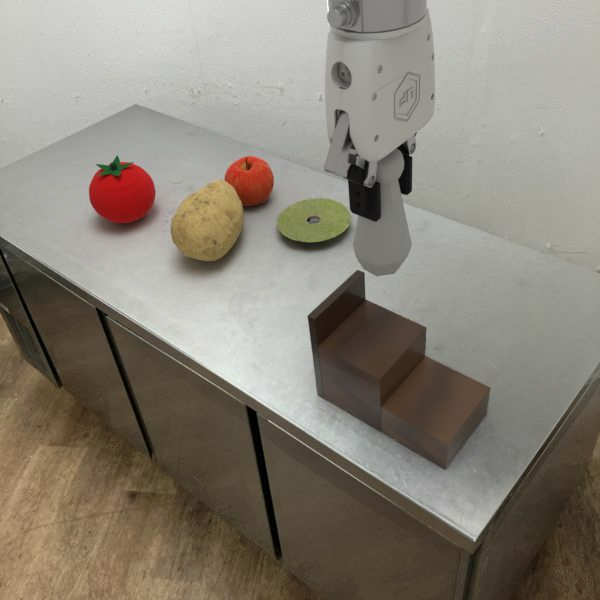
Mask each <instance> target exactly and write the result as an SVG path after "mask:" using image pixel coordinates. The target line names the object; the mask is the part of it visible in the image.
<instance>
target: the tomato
mask: <svg viewBox="0 0 600 600" xmlns="http://www.w3.org/2000/svg"><path fill="white" fill-rule="evenodd" d="M118 155H119V154H116V156H115V158H114V159H113V161H112V162H110V163H109V164H99V163H95V166H97V167H98V168H99V169H98V170H97V171H96V173H94V175H93V176H92V179H91V180H90V183H89V186H88V199H89V202H90V205H91V207H92V209H93V210H94V211H95V212H96V213H97V215H99V216H100V217H101V218H103V219H105V220H106V221H109V222H112V223H116V224H128V223H133V222H136V221H137V220H140V219H141V218H143V217H144V216H145V215H147V214H148V212H149V211H150V210H151V209H152V207H153V205H154V203H155V199H156V186H155V183H154V181H153V178H152V177H151V175H150V174H149V173H148V172H147V171H146V170H145V169H144V168H142V167H141V166H140V165H137V164H135V163H134V161H131V162H129V161H121V160H120V158H119V156H118Z"/></svg>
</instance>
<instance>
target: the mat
mask: <svg viewBox="0 0 600 600" xmlns="http://www.w3.org/2000/svg"><path fill="white" fill-rule="evenodd" d="M351 221H352V215H351V211H350V209H348V207H346V205H344V204H343V203H341V202H339V201H337V200H334V199H331V198H322V197H313V198H307V199H302V200H299V201H296V202H293V203H292V204H290V205H288V206H287V207H285V208H284V209H283V210H282V211H281V212H280V213H279V215H278V218H277V220H276V225H277V229H278V231H279V232H280V233H281V234H282V235H283V236H284V237H286V238H288V239H290V240H292V241H296V242H301V243H319V242H325V241H328V240H331V239H333V238H336V237H337V236H339V235H341V234H342V233H343V232H345V231H346V230H347V229H348V228H349V226H350V224H351Z"/></svg>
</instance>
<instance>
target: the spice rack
mask: <svg viewBox="0 0 600 600" xmlns="http://www.w3.org/2000/svg"><path fill="white" fill-rule="evenodd" d="M307 323H308V330H309V338H310V349H311V355H312V362H313V363H312V364H313V370H314V380H315V387H316V394H317V396H318V397H320V398H322V399H324V400H325V401H327V402H329V403H330V404H332V405H334V406H336V407H337V408H339V409H340V410H342V411H344V412H346V413H347V414H349V415H351V416H352V417H354V418H356V419H358V420H360V421H361V422H363V423H364V424H366V425H368V426H370V427H372V428H374V429H375V430H376V431H378V432H381V433H382V434H383V435H385V436H387V437H389V438H390V439H393V440H394V441H396V442H397V443H399V444H401V445H403V446H405V447H406V448H408V449H410V450H411V451H413V452H415V453H416V454H418V455H420V456H421V457H423V458H425V459H427V460H428V461H430V462H432V463H434V464H436V465H437V466H439V467H440V468H442V469H444V470H447V468H448V467H449V466H450V464H451V463H452V461H453V460H454V459H455V457H456V456H457V454H459V452H460V450H461V449H462V448H463V446H465V444H466V443H467V442H468V440H469V438H470V437H471V435H473V433H474V431H475V430H476V429H477V428H478V427H479V425H480V423H481V422H482V421H483V419H484V418H485V417H486V415H487V413H488V408H489V402H490V394H491V390H492V389H491V387H490V386H488V385H486V384H484V383H483V382H480V381H478V380H476V379H474V378H472V377H470V376H468V375H466V374H465V373H461V372H459V371H458V370H455V369H453V368H451V367H450V366H448V365H445V364H443V363H441V362H439V361H437V360H435V359H433V358H431V357H429V356H426V347H427V328H428V327H427V326H424V325H423V324H420V323H418V322H416V321H413V320H411V319H409V318H407V317H405V316H403V315H402V314H398V313H396V312H394V311H392V310H390V309H388V308H385V307H383V306H381V305H379V304H377V303H375V302H373V301H370V300H368V299H366V277H365V272H364V271H362V270H360V269H356V270H355V271H354V272H353V273H352V274H351V275H350V276H348V277H347V278H346V279H345V280H344V281H343V282H342V283H341V284H339V286H338V287H337V288H336V289H335V290H333V292H331V293H330V294H329V295H328V296H327V297H326V298H325V299H324V300H322V302H321V303H319V304H318V305H317V306H316V307H315V308H314V309H313V310H312V311H310V312H309V314H307Z"/></svg>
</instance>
